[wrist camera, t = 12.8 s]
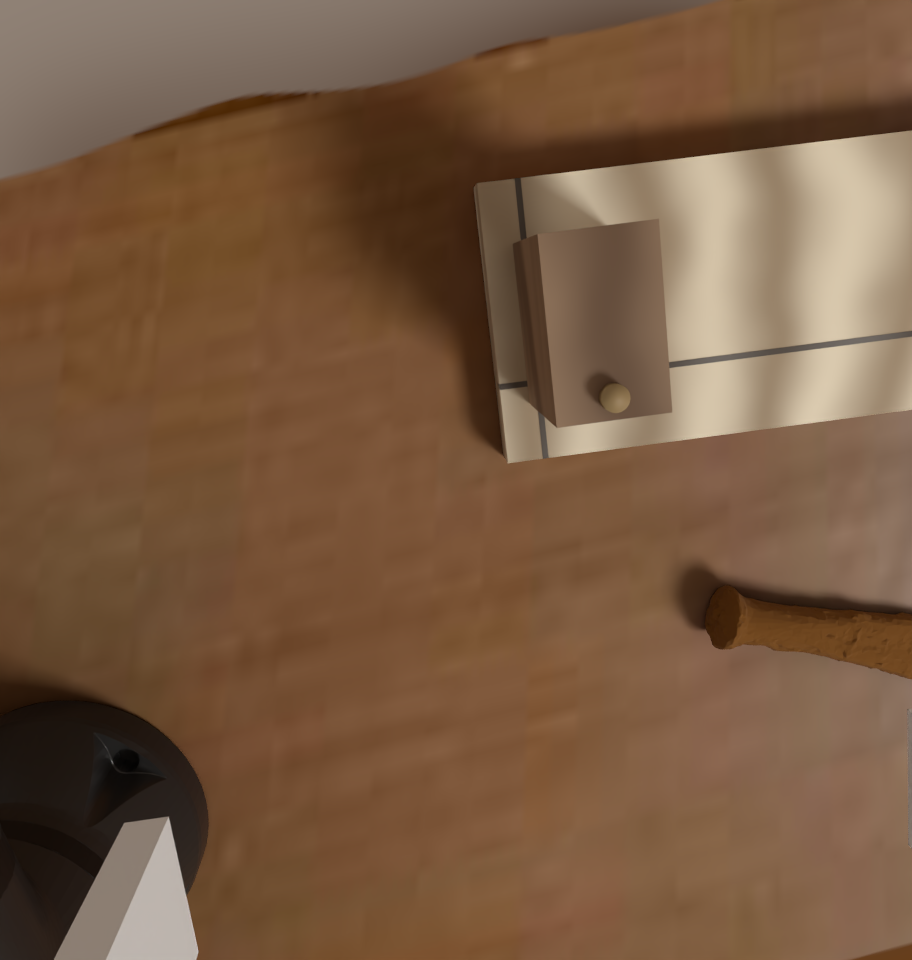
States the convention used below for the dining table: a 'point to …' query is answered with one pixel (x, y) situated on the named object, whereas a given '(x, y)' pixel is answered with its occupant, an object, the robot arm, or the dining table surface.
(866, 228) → the board
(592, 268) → the beige drawer
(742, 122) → the dining table surface
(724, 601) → the primitive tool
